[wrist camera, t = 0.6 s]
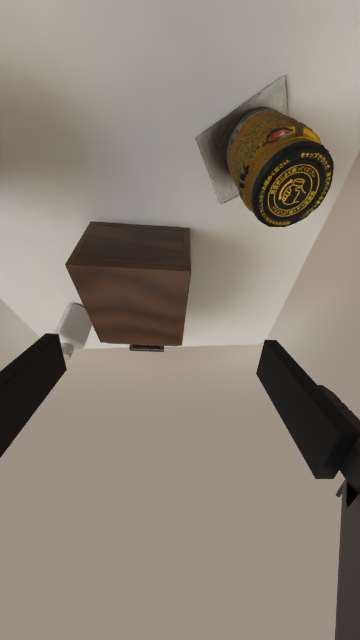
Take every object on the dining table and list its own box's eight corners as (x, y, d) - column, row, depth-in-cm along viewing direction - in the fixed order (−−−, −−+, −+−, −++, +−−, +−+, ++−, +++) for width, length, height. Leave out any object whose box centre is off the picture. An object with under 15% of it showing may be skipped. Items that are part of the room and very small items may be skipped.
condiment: (292, 164, 23) (346, 214, 15) (220, 203, 26) (235, 260, 18) (283, 74, 18) (357, 82, 10) (195, 137, 21) (201, 177, 13)
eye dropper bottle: (76, 320, 45) (55, 371, 37) (64, 302, 40) (38, 356, 33) (96, 319, 45) (79, 371, 37) (86, 302, 40) (64, 356, 33)
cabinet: (181, 304, 41) (181, 345, 35) (112, 300, 40) (100, 342, 34) (189, 227, 28) (191, 271, 22) (90, 221, 28) (64, 264, 22)
